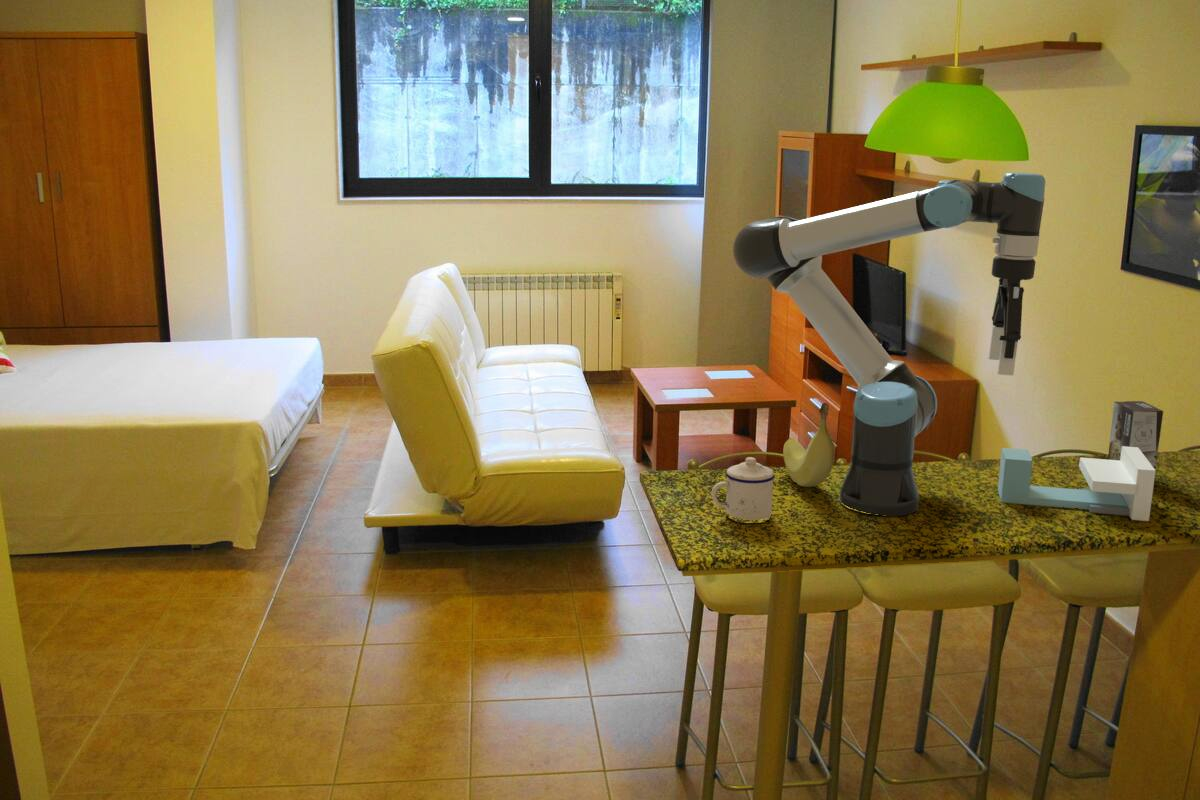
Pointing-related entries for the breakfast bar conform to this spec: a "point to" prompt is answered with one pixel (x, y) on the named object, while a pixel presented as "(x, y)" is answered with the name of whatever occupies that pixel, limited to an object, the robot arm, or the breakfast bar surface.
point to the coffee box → (1135, 429)
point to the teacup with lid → (747, 490)
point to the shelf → (1122, 482)
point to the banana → (811, 456)
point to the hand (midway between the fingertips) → (1000, 367)
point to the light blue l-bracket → (1019, 490)
